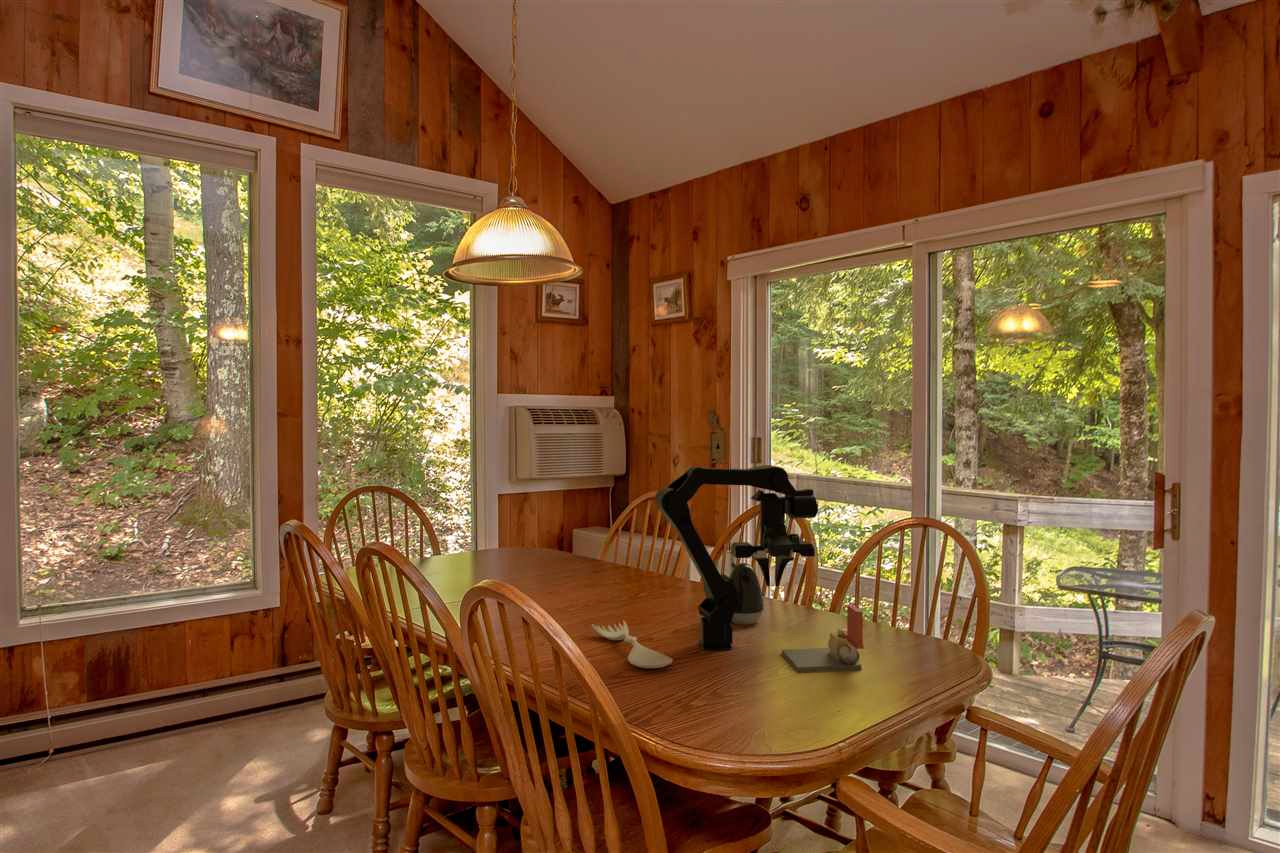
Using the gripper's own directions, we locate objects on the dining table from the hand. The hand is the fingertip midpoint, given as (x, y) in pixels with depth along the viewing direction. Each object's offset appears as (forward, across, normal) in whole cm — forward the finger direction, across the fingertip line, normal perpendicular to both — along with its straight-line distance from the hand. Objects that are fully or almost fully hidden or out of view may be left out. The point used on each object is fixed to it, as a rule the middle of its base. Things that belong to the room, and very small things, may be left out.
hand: (772, 586), depth 182 cm
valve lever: (+7, +11, -21) cm, 25 cm away
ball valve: (+12, +11, -17) cm, 23 cm away
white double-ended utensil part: (+14, -34, -4) cm, 36 cm away
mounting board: (+13, +6, -16) cm, 21 cm away
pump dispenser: (+13, -3, +17) cm, 22 cm away
